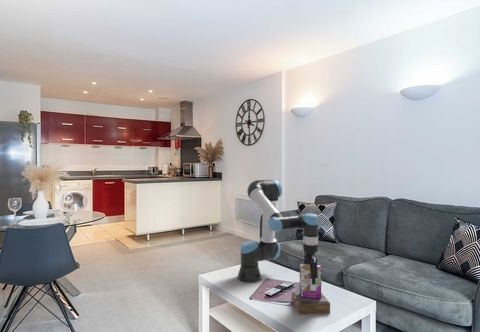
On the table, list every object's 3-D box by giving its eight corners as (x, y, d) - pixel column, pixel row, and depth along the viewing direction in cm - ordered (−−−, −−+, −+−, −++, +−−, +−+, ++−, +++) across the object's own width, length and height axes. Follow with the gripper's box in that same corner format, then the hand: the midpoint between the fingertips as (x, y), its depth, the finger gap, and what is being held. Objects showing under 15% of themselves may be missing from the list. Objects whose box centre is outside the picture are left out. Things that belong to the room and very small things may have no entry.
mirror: (291, 301, 164) (291, 291, 164) (320, 300, 166) (320, 290, 166) (299, 314, 150) (299, 303, 150) (330, 312, 152) (330, 302, 152)
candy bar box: (299, 297, 156) (299, 266, 156) (299, 293, 161) (299, 263, 161) (321, 299, 154) (321, 267, 154) (320, 295, 159) (320, 264, 159)
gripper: (297, 238, 167) (297, 279, 168) (310, 249, 147) (309, 295, 147) (311, 238, 168) (310, 278, 168) (324, 249, 148) (324, 295, 148)
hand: (310, 286), depth 158 cm, fingers open, 8 cm apart
